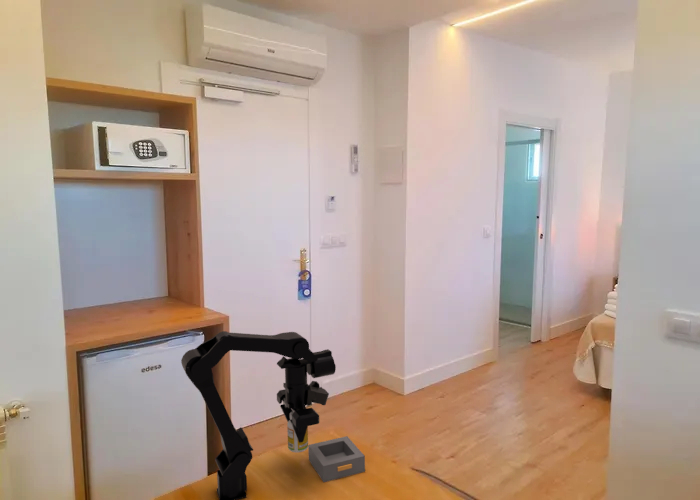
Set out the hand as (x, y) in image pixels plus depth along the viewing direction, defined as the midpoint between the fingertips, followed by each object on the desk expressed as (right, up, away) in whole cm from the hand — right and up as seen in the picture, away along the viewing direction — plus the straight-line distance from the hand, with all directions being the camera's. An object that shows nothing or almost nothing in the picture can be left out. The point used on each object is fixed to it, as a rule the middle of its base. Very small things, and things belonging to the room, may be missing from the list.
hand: (297, 437), depth 132 cm
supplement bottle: (0, -3, 0) cm, 3 cm away
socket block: (+10, -10, +6) cm, 15 cm away
